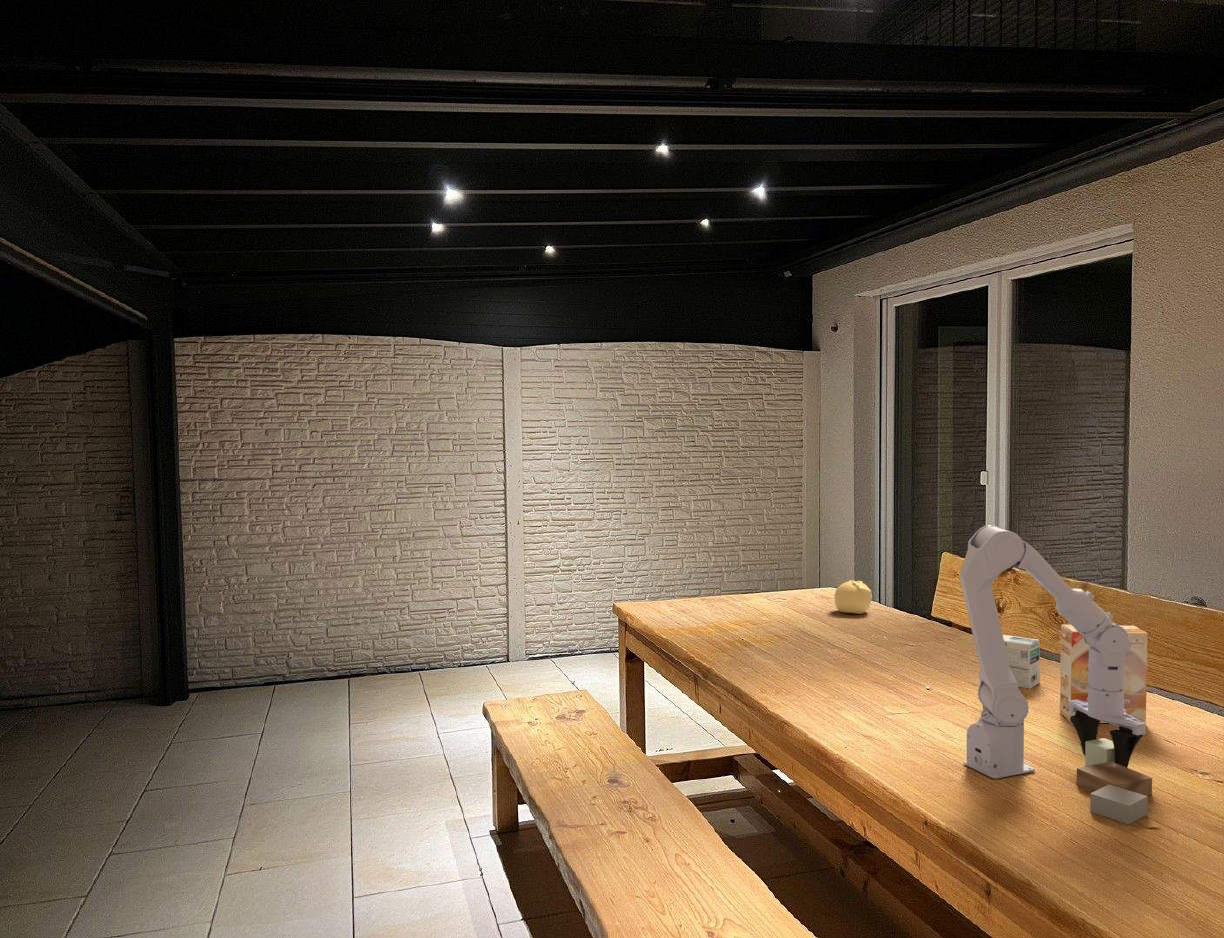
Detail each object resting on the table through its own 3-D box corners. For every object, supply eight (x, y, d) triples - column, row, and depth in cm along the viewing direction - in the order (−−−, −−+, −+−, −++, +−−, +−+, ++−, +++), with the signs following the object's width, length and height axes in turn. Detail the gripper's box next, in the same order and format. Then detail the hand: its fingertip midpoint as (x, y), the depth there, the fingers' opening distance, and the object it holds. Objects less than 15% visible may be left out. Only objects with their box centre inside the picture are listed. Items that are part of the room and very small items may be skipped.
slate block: (1128, 824, 142) (1129, 805, 142) (1090, 811, 147) (1090, 793, 147) (1147, 814, 145) (1147, 796, 145) (1108, 802, 150) (1109, 784, 150)
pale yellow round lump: (876, 615, 294) (876, 582, 293) (839, 616, 294) (839, 583, 293) (866, 608, 305) (866, 576, 305) (830, 609, 305) (830, 577, 305)
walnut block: (1116, 802, 150) (1116, 784, 150) (1076, 784, 157) (1076, 767, 157) (1151, 795, 153) (1152, 777, 152) (1111, 777, 160) (1111, 761, 160)
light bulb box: (1040, 683, 217) (1041, 638, 217) (1031, 689, 212) (1031, 644, 212) (995, 675, 225) (995, 632, 224) (984, 681, 220) (985, 637, 219)
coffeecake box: (1070, 723, 189) (1071, 631, 188) (1058, 712, 196) (1059, 623, 195) (1147, 725, 187) (1148, 632, 186) (1132, 714, 194) (1134, 624, 193)
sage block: (1106, 777, 161) (1106, 749, 160) (1085, 768, 165) (1085, 741, 165) (1125, 773, 162) (1125, 746, 162) (1103, 764, 166) (1104, 737, 166)
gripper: (1159, 695, 157) (1157, 772, 158) (1089, 674, 171) (1088, 745, 172) (1128, 700, 155) (1127, 778, 156) (1060, 678, 169) (1059, 750, 169)
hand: (1105, 761), depth 164 cm, fingers open, 6 cm apart
